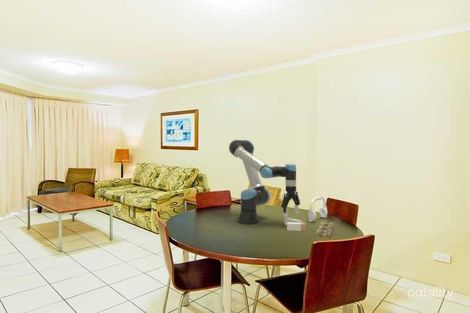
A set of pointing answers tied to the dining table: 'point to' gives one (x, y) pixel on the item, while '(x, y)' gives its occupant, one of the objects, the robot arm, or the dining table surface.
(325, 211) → the headset
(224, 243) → the dining table surface
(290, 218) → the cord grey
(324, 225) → the comb rack
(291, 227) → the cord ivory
